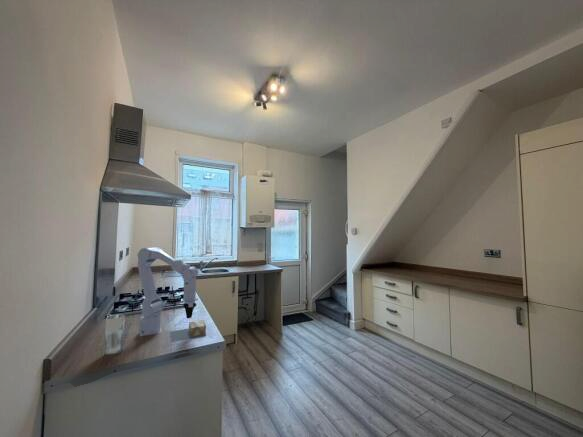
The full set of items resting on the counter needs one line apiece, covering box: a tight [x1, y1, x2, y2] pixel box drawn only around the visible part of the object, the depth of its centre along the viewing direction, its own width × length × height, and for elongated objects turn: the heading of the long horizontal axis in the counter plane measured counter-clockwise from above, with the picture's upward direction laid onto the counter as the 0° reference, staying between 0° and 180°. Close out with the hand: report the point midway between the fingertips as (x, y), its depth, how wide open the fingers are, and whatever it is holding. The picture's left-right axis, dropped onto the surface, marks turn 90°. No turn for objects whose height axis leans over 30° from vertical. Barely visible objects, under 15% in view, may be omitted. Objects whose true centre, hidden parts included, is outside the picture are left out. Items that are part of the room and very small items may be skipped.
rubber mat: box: [169, 327, 207, 343], centre depth 124 cm, size 16×14×1 cm
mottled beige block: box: [188, 319, 207, 336], centre depth 126 cm, size 4×9×7 cm
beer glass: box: [104, 313, 126, 356], centre depth 107 cm, size 7×7×15 cm
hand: (189, 317), depth 125 cm, fingers closed
